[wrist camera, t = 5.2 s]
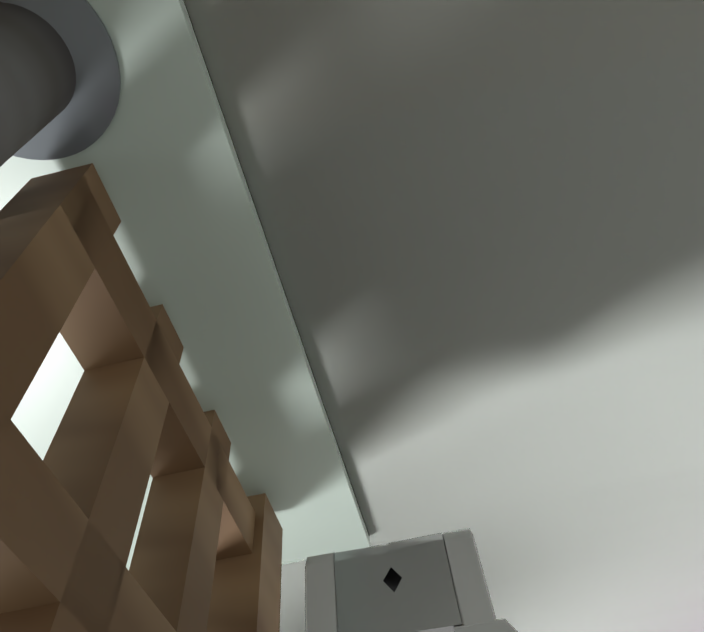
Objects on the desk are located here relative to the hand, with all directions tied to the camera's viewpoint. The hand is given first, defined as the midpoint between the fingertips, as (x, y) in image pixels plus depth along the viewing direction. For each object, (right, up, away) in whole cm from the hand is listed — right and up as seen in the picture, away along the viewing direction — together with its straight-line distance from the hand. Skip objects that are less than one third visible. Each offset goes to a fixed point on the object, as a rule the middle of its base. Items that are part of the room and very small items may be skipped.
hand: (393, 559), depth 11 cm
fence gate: (-4, +3, +1) cm, 5 cm away
